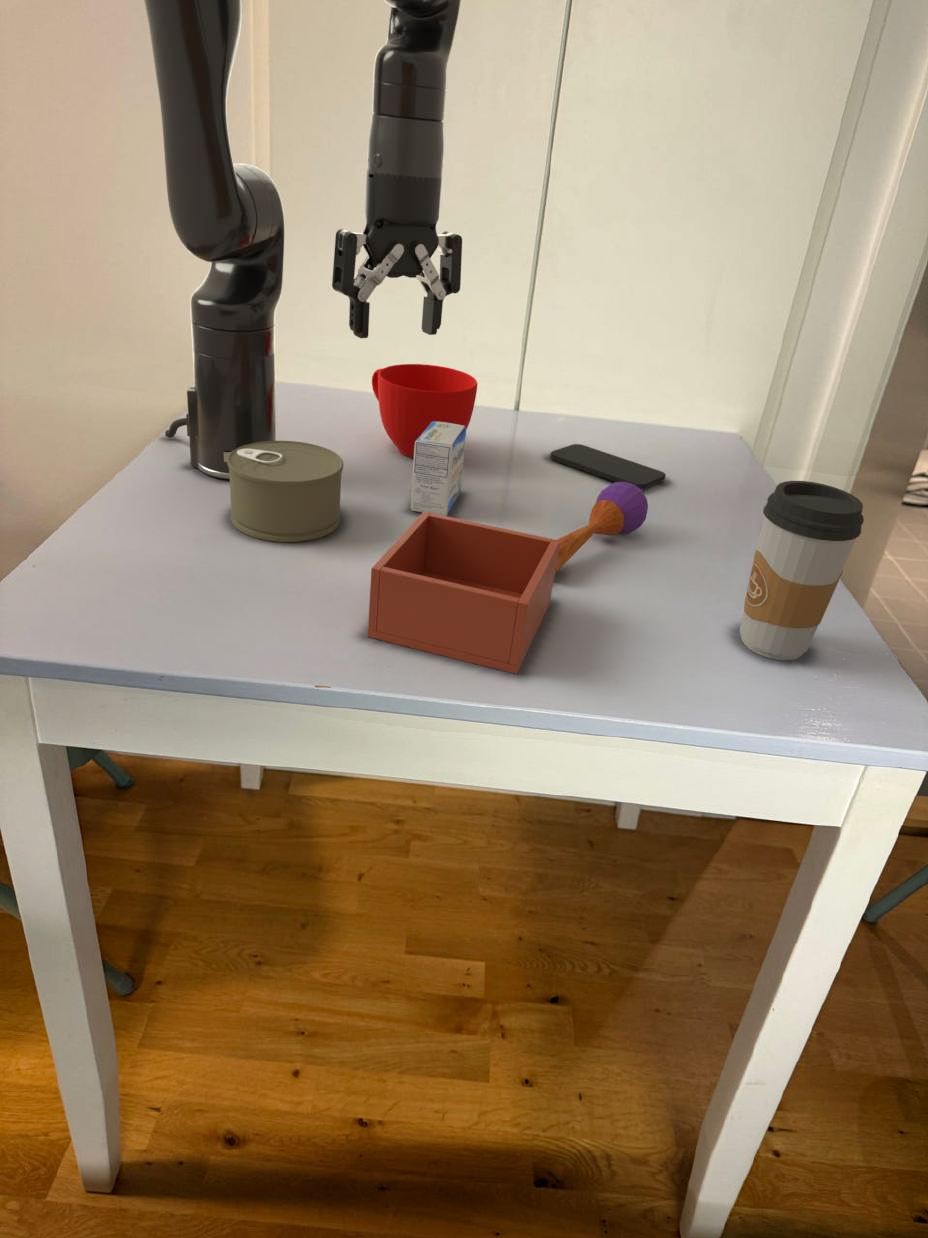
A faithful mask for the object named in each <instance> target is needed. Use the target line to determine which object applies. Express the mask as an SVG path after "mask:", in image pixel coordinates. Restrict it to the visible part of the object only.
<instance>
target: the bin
mask: <svg viewBox="0 0 928 1238" xmlns="http://www.w3.org/2000/svg"><path fill="white" fill-rule="evenodd" d="M559 547H560V541H559V540H556V539H555V538H550V537H545V536H540V535H537V534H536V535H535V534H530V533H526V532H521V531H516V530H512V529H507V528H503V527H499V526H494V525H488V524H484V523H481V522H480V523H479V522H475V521H471V520H466V519H461V518H457V517H453V516H448V515H447V516H443V515H439V514H434V513H429V512H425V511H424V512H423V513H421V514H420V515H418V516H417V518H416V519H415V520H414V521H413V522H412V523H411V524H410V525H409V526H408V528H407V529H406V530H405V531H404V532H403V533H402V534H401V535H400V537H399V538H398V539H397V540H396V541H395V542H394V543H393V544H392V546H390V547H389V549H387V551H386V552H385V553H384V554H383V555H382V556H381V557H380V558H379V559H378V561H376V563H375V564H374V565H373V566H371V571H370V586H369V588H370V589H369V603H368V604H369V605H368V623H367V637H368V638H369V639H370V638H371V639H375V640H378V641H383V642H387V643H390V644H394V645H400V646H403V647H406V648H410V649H415V650H419V651H423V652H427V653H432V654H435V655H439V656H444V657H448V658H451V659H456V660H459V661H462V662H467V663H470V664H475V665H480V666H482V667H487V668H492V669H495V670H499V671H503V672H508V673H510V674H511V673H512V674H515V675H516V674H518V672H519V671H520V668H521V666H522V663H523V662H524V659H525V657H526V655H527V653H528V651H529V649H530V646H531V644H532V643H533V640H534V638H535V636H536V634H537V631H538V630H539V627H540V625H541V623H542V621H543V619H544V617H545V615H546V613H547V610H548V608H549V606H550V604H551V599H552V594H553V587H554V581H555V576H556V573H555V570H556V564H557V558H558V553H559Z"/></svg>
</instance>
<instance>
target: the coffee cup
mask: <svg viewBox="0 0 928 1238" xmlns="http://www.w3.org/2000/svg"><path fill="white" fill-rule="evenodd" d="M863 508H864V506H863V503H862V501H861V500H860V499H859V498H858V497H856V496H855V495H853V494H851V493H849V492H848V491H845V490H844V489H840V488H838V487H835V486H831V485H827V484H824V483H819V482H815V481H806V480H788V481H787V480H786V481H783V482H780V483H779V484H778V485H776V487H775V489H774V492H773V493H771V494H770V495H768V497H767V500H766V504H765V505H764V506H763V509H762V510H763V511H762V514H763V515H764V516H763V520H762V525H761V529H760V534H759V539H758V543H757V548H756V550H755V551H754V557H753V562H752V567H751V571H750V575H749V580H748V585H747V590H746V594H745V598H744V605H743V612H742V617H741V621H740V625H739V634H740V639H741V642H742V644H744V646H745V647H747V648H748V649H749V650H750V651H752V652H754V653H755V654H758V655H759V656H762V657H765V658H769V659H772V660H777V661H794V660H796V659H799V658H801V657H802V656H803V654H805V653H807V651H808V650H809V648H810V647H811V643H812V641H813V639H814V637H815V634H816V632H817V630H818V627H819V625H820V624H821V623H822V620H823V619H824V616H825V613H826V611H827V609H828V607H829V604H830V603H831V600H832V599H833V595H834V593H835V590H836V588H837V586H838V584H839V582H840V579H841V578H842V575H843V571H844V568H845V565H846V563H847V560H848V558H849V555H850V553H851V551H852V549H853V547H854V544H855V542H856V539H857V538H859V537H860V535H861V534H862V526H863V524H864V521H865V519H864V515H863V514H862V513H863Z"/></svg>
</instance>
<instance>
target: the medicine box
mask: <svg viewBox="0 0 928 1238" xmlns="http://www.w3.org/2000/svg"><path fill="white" fill-rule="evenodd" d="M466 437H467V430H466V427H465V426H463V425H458V424H452V423H446V422H434V421H433V422H431V424H430V425H429V426H428V427H427V428H426V430H425V431H424V432H423V433H422V434H421V436H420V437H419V438H418V439H417V440H416V441H415V448H414V458H413V462H412V465H413V466H412V477H411V479H412V481H411V495H410V498H411V499H410V510H411V511H413V512H416V513H421V514H422V513H423V512H424V511H425V512H429V513H434V514H439V515H443V516H448V515H449V513H450V511H451V509H452V508H453V506H454V504H455V503H456V501H457V499H458V497H459V496H460V493H461V489H462V479H463V468H464V459H465V448H466Z"/></svg>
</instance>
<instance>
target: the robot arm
mask: <svg viewBox="0 0 928 1238" xmlns="http://www.w3.org/2000/svg"><path fill="white" fill-rule="evenodd" d="M383 1H384V2H385V3H386V4H387V5H389V6H390V10H389V11H390V12H389V20H388V28H387V35H386V42H385V44H384V45H383V46H381V47H380V48H379V49H378V51H377V52H376V55H375V58H374V63H373V73H372V96H371V97H372V98H371V113H372V114H371V118H370V126H369V130H368V131H369V132H368V138H367V155H366V156H367V157H366V181H365V206H364V207H365V210H364V213H365V226H364V230H363V232H354V231H349V230H346V229H343V228H339V229H338V230H337V231H336V232H335V241H334V254H333V266H332V267H333V268H332V282H331V287H332V289H333V291H335V292H338V293H340V294H342V295H344V296H347V297H348V299H349V312H348V313H349V317H348V326H349V329H350V330H351V331H352V333H353V335H354V337H357V338H358V339H368V337H369V329H370V306H371V303H370V302H369V301H367V300H368V299H369V298H370V296H371V295H372V293H373V292H374V291H375V289H376V288H377V286H380V285H381V284H382V283H383V281H385V279H386V277H387V278H390V279H398V278H401V277H406V278H408V279H409V278H410V279H411V278H413V279H414V278H415V279H416V280H417V281H418V282H419V283H420V285H421V287H422V289H423V291H424V292H425V294H426V296H423V303H422V314H421V315H422V316H421V331H422V332H423V333H425V334H426V335H429V336H436V335H437V333H438V330H440V328H441V325H442V317H443V305H444V299H445V298H446V297H447V296H449V295H451V294H458V293H459V292H460V290H461V284H462V283H461V281H462V280H461V279H462V258H463V255H462V254H463V237H462V235H460V234H457V233H454V232H450V231H446V230H445V231H443V232H442V233H441V234H438V233H437V224H438V221H439V219H440V206H441V195H442V179H443V168H444V155H445V154H444V153H445V137H444V120H445V106H446V92H447V91H446V90H447V68H448V62H449V58H450V55H451V52H452V48H453V43H454V38H455V33H456V30H457V29H456V27H457V24H458V17H459V13H460V8H461V2H462V0H383ZM143 2H144V6H145V11H146V17H147V23H148V29H149V35H150V42H151V43H150V44H151V49H152V57H153V63H154V71H155V77H156V84H157V90H158V91H157V92H158V97H159V98H158V99H159V105H160V113H161V114H160V116H161V126H162V137H163V140H162V141H163V150H164V151H163V153H164V154H163V155H164V166H165V180H166V181H165V182H166V193H167V202H168V209H169V213H170V219H171V222H172V225H173V229H174V230H175V233H176V236H177V237H178V239H179V242H180V243H181V245H183V247H184V248H185V249H186V250H187V252H188V253H190V254H191V255H192V256H193V257H195V258H196V259H198V260H200V261H203V262H207V263H210V267H209V270H208V273H207V274H206V276H205V278H204V280H203V281H202V282H201V284H200V285H199V286H198V287H197V288H196V289H195V290H194V291H193V293H192V294H191V296H190V301H189V302H190V303H189V307H190V308H189V309H190V326H191V327H190V329H191V347H192V349H191V350H192V368H193V369H192V370H193V385H191V386H189V387H188V388H187V390H186V399H187V401H186V402H187V413H186V414H185V415H186V416H185V417H183V418H182V417H181V418H177V419H176V420H174V421H173V422H172V423H171V424H170V426H169V429H167V430H166V431H165V432H164V435H165V437H167V438H169V439H172V438H174V437H175V435H176V434H177V431H178V429H180V428H181V427H184V426H186V434H187V437H189V455H190V456H189V457H190V467H193V468H197V469H198V470H199V471H200V472H202V473H204V474H205V475H207V476H211V477H214V478H219V479H224V480H230V474H229V467H228V464H227V458H228V455H229V454H230V453H231V452H232V451H233V450H235V449H237V448H239V447H241V446H244V445H248V444H252V443H257V442H264V441H277V440H276V438H277V437H276V435H277V434H276V433H277V432H276V431H277V430H276V428H277V427H276V423H277V422H276V421H277V418H276V415H277V414H276V410H277V409H276V408H277V407H276V312H277V308H278V305H279V304H280V300H281V296H282V293H283V284H284V283H283V282H284V262H285V260H284V259H285V243H286V241H285V240H286V239H285V238H286V224H285V223H286V222H285V220H286V219H285V211H284V205H283V200H282V197H281V194H280V191H279V189H278V187H277V185H276V183H275V181H274V180H273V178H271V176H270V175H268V173H266V172H265V171H264V170H262V169H261V168H259V167H258V166H255V165H252V164H248V163H234V160H233V154H232V149H231V142H230V135H229V125H228V110H227V109H228V105H227V104H228V91H229V87H230V80H231V75H232V71H233V67H234V63H235V59H236V55H237V51H238V46H239V42H240V37H241V31H242V24H243V8H244V7H243V6H244V5H243V0H143ZM362 247H363V249H364V250H365V253H366V254H367V255H366V257H365V258H364V259H363V261H362V263H361V264H360V266H359V267H358V268H357V274H356V276H355V272H356V263H357V261H356V260H357V256H358V255H359V254H360V253H361V248H362ZM436 251H437V252H438V254H439V256H440V257H439V259H440V260H439V273H438V270H437V269H436V267H435V265H434V263H433V261H432V260H431V258H432V256H433V255H434V254H435V252H436Z"/></svg>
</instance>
